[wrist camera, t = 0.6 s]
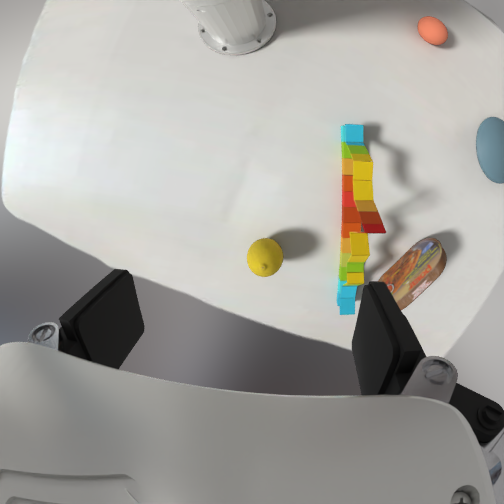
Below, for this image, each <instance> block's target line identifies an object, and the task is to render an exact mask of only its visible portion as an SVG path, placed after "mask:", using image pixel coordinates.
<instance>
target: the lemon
mask: <svg viewBox="0 0 504 504" xmlns="http://www.w3.org/2000/svg"><path fill="white" fill-rule="evenodd" d="M247 262H248V266H249V268H250V269H251V271H252V272H253V273H254V274H256V275H258V276H261V277H267V276H271V275H273V274H274V273H276V272H277V271H278V270H279V268H280V267H281V265H282V262H283V252H282V249H281V247H280V246H279V244H278V243H277V242H275V241H274V240H272V239H268V238H263V239H259V240H257V241H256V242H254V243H253V244H252V245H251V246H250V248H249V250H248V254H247Z"/></svg>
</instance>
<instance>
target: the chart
mask: <svg viewBox="0 0 504 504" xmlns="http://www.w3.org/2000/svg"><path fill="white" fill-rule="evenodd" d="M341 142H342V230H341V252H340V268H339V281H338V293H337V305H338V306H340V315H349V314H355V295H356V290H357V286H359V285H361V284H364V263H365V261H366V260H367V258H368V257H369V256H370V253H369V243H368V234H367V233H386V231H385V228H384V225H383V223H382V220H381V218H380V215H379V213H378V210H377V208H376V205H375V203H374V201H373V186H372V174H373V162H368V161H372V159H371V157H370V155H369V153H368V151H367V149H366V147H365V145H364V143H360V142H363V125H352V124H345V126H341ZM358 142H359V143H358ZM361 222H362V225H363V228H364V232H361V226H362V225H361Z"/></svg>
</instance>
